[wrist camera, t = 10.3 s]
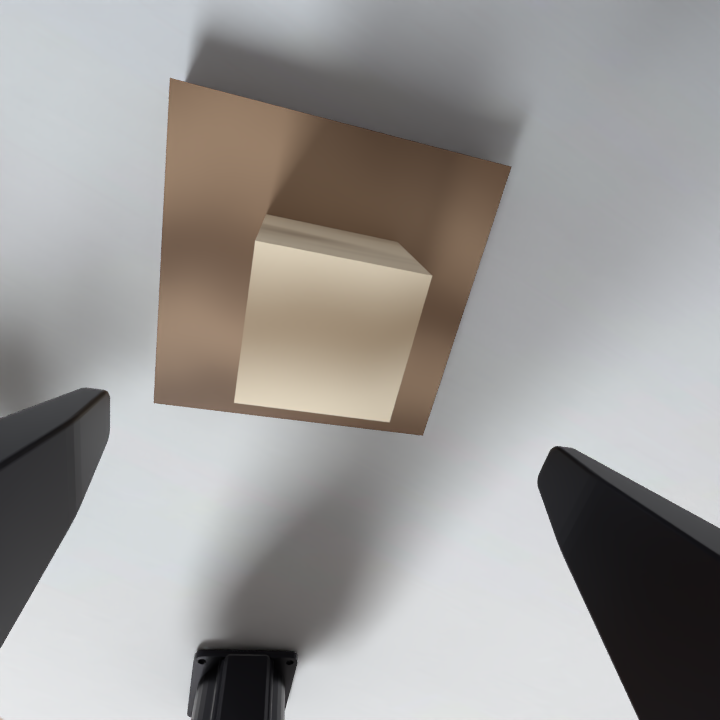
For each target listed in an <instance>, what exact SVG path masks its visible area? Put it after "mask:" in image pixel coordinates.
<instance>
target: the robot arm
mask: <svg viewBox="0 0 720 720" xmlns="http://www.w3.org/2000/svg"><path fill="white" fill-rule="evenodd" d="M109 432H110V396H109V393H108V392H107V391H105V390H101V389H92V388H80V389H78V390H75V391H72V392H70V393H67V394H64V395H62V396H59V397H56V398H54V399H51V400H48V401H46V402H43V403H40V404H38V405H35V406H32V407H30V408H27V409H24V410H22V411H19V412H16V413H14V414H11V415H8V416H6V417H3V418H0V648H1V646H2V645H3V643H4V641H5V639H6V638H7V636H8V634H9V632H10V631H11V629H12V627H13V625H14V624H15V622H16V620H17V618H18V617H19V615H20V613H21V612H22V610H23V608H24V606H25V605H26V603H27V601H28V599H29V598H30V596H31V594H32V592H33V591H34V589H35V587H36V585H37V584H38V582H39V580H40V578H41V577H42V575H43V573H44V571H45V570H46V568H47V566H48V564H49V563H50V561H51V559H52V557H53V556H54V554H55V552H56V550H57V549H58V547H59V545H60V543H61V542H62V540H63V538H64V536H65V535H66V533H67V531H68V530H69V528H70V526H71V524H72V522H73V520H74V518H75V517H76V515H77V512H78V510H79V508H80V506H81V504H82V501H83V499H84V496H85V494H86V492H87V489H88V487H89V485H90V482H91V480H92V477H93V475H94V473H95V470H96V468H97V465H98V463H99V461H100V458H101V456H102V454H103V451H104V449H105V446H106V444H107V441H108V438H109ZM537 483H538V488H539V491H540V494H541V497H542V500H543V503H544V505H545V508H546V511H547V514H548V517H549V519H550V522H551V525H552V528H553V531H554V534H555V536H556V539H557V542H558V545H559V547H560V550H561V552H562V554H563V557H564V559H565V561H566V563H567V566H568V568H569V570H570V572H571V574H572V576H573V578H574V581H575V583H576V585H577V587H578V589H579V591H580V594H581V596H582V598H583V600H584V602H585V604H586V607H587V609H588V611H589V613H590V615H591V617H592V620H593V622H594V624H595V626H596V628H597V630H598V632H599V635H600V637H601V639H602V641H603V643H604V645H605V648H606V650H607V652H608V654H609V656H610V658H611V661H612V663H613V665H614V667H615V669H616V671H617V673H618V676H619V678H620V680H621V682H622V684H623V686H624V689H625V691H626V693H627V695H628V697H629V699H630V702H631V704H632V706H633V708H634V710H635V712H636V715H637V717H638V719H639V720H720V528H718V527H716V526H714V525H713V524H711V523H709V522H707V521H705V520H703V519H702V518H700V517H698V516H696V515H694V514H693V513H691V512H689V511H687V510H685V509H683V508H682V507H680V506H678V505H676V504H674V503H672V502H671V501H669V500H667V499H665V498H663V497H661V496H660V495H658V494H656V493H654V492H652V491H650V490H649V489H647V488H645V487H643V486H641V485H639V484H638V483H636V482H634V481H632V480H630V479H629V478H627V477H625V476H623V475H621V474H619V473H618V472H616V471H614V470H612V469H610V468H608V467H607V466H605V465H603V464H601V463H599V462H597V461H596V460H594V459H592V458H590V457H588V456H586V455H585V454H583V453H581V452H579V451H577V450H576V449H573V448H569V447H561V446H556V447H553V448H552V449H551V450H550V452H549V454H548V456H547V458H546V460H545V462H544V464H543V467H542V469H541V471H540V473H539V475H538V482H537ZM296 666H297V654H296V653H295V652H285V651H223V650H201V651H198V652H197V653H196V654H195V657H194V662H193V670H192V678H191V687H190V695H189V703H188V711H187V715H188V716H189V717H191V720H284V717H285V708H286V704H287V700H288V696H289V693H290V689H291V685H292V681H293V677H294V673H295V670H296Z"/></svg>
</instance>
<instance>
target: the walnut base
mask: <svg viewBox="0 0 720 720" xmlns="http://www.w3.org/2000/svg"><path fill="white" fill-rule="evenodd" d="M510 169H511V167H510V166H506V165H502V164H499V163H495V162H491V161H487V160H483V159H479V158H476V157H472V156H468V155H464V154H460V153H456V152H452V151H449V150H445V149H441V148H437V147H433V146H429V145H426V144H422V143H418V142H414V141H410V140H406V139H403V138H399V137H395V136H391V135H387V134H383V133H380V132H376V131H372V130H368V129H364V128H360V127H356V126H353V125H349V124H345V123H341V122H337V121H333V120H330V119H326V118H322V117H318V116H314V115H310V114H307V113H303V112H299V111H295V110H291V109H287V108H283V107H280V106H276V105H272V104H268V103H264V102H260V101H257V100H253V99H249V98H245V97H241V96H237V95H234V94H230V93H226V92H222V91H218V90H214V89H210V88H207V87H203V86H199V85H195V84H191V83H187V82H184V81H180V80H176V79H172V78H170V87H169V107H168V127H167V147H166V167H165V187H164V207H163V227H162V247H161V267H160V287H159V307H158V327H157V347H156V367H155V388H154V403H157V404H166V405H174V406H182V407H191V408H199V409H207V410H215V411H224V412H232V413H240V414H249V415H257V416H265V417H273V418H282V419H290V420H298V421H307V422H315V423H323V424H331V425H340V426H348V427H356V428H365V429H373V430H381V431H390V432H398V433H406V434H414V435H423V433H424V430H425V427H426V424H427V421H428V418H429V415H430V412H431V409H432V406H433V403H434V400H435V397H436V394H437V391H438V388H439V385H440V382H441V379H442V376H443V373H444V370H445V367H446V364H447V361H448V357H449V354H450V351H451V348H452V345H453V342H454V339H455V336H456V333H457V330H458V327H459V324H460V321H461V318H462V315H463V312H464V309H465V306H466V303H467V300H468V297H469V294H470V291H471V288H472V285H473V282H474V279H475V276H476V273H477V270H478V267H479V263H480V260H481V257H482V254H483V251H484V248H485V245H486V242H487V239H488V236H489V233H490V230H491V227H492V224H493V221H494V218H495V215H496V212H497V209H498V206H499V203H500V200H501V197H502V194H503V191H504V188H505V185H506V182H507V179H508V176H509V173H510ZM266 214H268V215H272V216H277V217H282V218H287V219H291V220H296V221H301V222H305V223H310V224H315V225H320V226H324V227H329V228H334V229H339V230H343V231H348V232H353V233H357V234H362V235H367V236H372V237H376V238H381V239H386V240H391V241H395V242H398V243H399V244H400V245H401V246H402V247H403V248H404V249H405V250H406V251H407V252H408V253H409V254H410V255H411V256H412V257H414V258H415V259H416V260H417V261H418V262H419V263H420V264H421V265H422V266H423V267H424V268H425V269H426V270H427V271H428V272H429V273H430V274H431V275H432V279H431V282H430V285H429V289H428V292H427V296H426V299H425V303H424V306H423V309H422V313H421V316H420V320H419V323H418V327H417V330H416V333H415V337H414V340H413V344H412V347H411V350H410V354H409V357H408V361H407V364H406V368H405V371H404V374H403V378H402V381H401V385H400V388H399V392H398V395H397V398H396V402H395V405H394V409H393V412H392V415H391V419H390V422H383V421H375V420H367V419H359V418H351V417H343V416H335V415H327V414H319V413H311V412H303V411H295V410H287V409H279V408H271V407H263V406H255V405H247V404H239V403H234V399H235V391H236V383H237V376H238V368H239V361H240V353H241V345H242V338H243V330H244V322H245V315H246V307H247V300H248V292H249V284H250V277H251V269H252V261H253V254H254V246H255V240H256V237H257V235H258V233H259V230H260V228H261V225H262V223H263V221H264V218H265V216H266Z"/></svg>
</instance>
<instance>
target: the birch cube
mask: <svg viewBox="0 0 720 720" xmlns="http://www.w3.org/2000/svg"><path fill="white" fill-rule="evenodd" d="M431 279H432V275H431V274H430V273H429V272H428V271H427V270H426V269H425V268H424V267H423V266H422V265H421V264H420V263H419V262H418V261H417V260H416V259H415V258H414V257H412V256H411V255H410V254H409V253H408V252H407V251H406V250H405V249H404V248H403V247H402V246H401V245H400V244H399V243H398V242H395V241H391V240H386V239H381V238H376V237H372V236H367V235H362V234H357V233H353V232H348V231H343V230H339V229H334V228H329V227H324V226H320V225H315V224H310V223H305V222H301V221H296V220H291V219H287V218H282V217H277V216H272V215H268V214H266V216H265V218H264V221H263V223H262V225H261V228H260V230H259V233H258V235H257V237H256V240H255V246H254V254H253V261H252V269H251V277H250V284H249V292H248V300H247V307H246V315H245V322H244V330H243V338H242V345H241V353H240V361H239V368H238V376H237V383H236V391H235V399H234V403H239V404H247V405H255V406H263V407H271V408H279V409H287V410H295V411H303V412H311V413H319V414H327V415H335V416H343V417H351V418H359V419H367V420H375V421H383V422H390V419H391V415H392V412H393V409H394V405H395V402H396V398H397V395H398V392H399V388H400V385H401V381H402V378H403V374H404V371H405V368H406V364H407V361H408V357H409V354H410V350H411V347H412V344H413V340H414V337H415V333H416V330H417V327H418V323H419V320H420V316H421V313H422V309H423V306H424V303H425V299H426V296H427V292H428V289H429V285H430V282H431Z"/></svg>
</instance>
